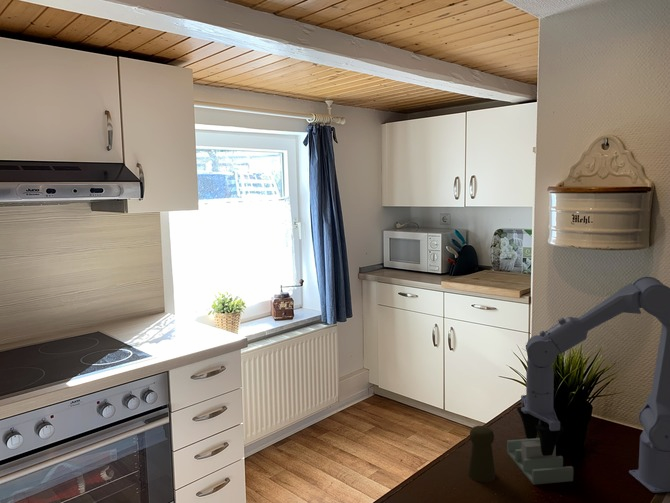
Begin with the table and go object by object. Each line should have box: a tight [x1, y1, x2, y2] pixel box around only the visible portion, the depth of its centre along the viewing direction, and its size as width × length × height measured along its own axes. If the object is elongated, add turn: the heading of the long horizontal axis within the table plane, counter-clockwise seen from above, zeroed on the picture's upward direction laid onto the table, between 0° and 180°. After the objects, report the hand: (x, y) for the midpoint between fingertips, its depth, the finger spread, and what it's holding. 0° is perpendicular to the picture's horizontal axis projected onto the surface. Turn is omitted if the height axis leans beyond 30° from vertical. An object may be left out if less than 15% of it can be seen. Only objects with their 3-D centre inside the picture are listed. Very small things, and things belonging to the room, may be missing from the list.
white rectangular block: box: [521, 440, 557, 464], centre depth 119 cm, size 7×2×5 cm, turn 95°
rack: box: [506, 437, 574, 485], centre depth 119 cm, size 9×14×3 cm, turn 5°
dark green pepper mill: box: [467, 425, 496, 483], centre depth 116 cm, size 6×6×11 cm
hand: (538, 446), depth 119 cm, fingers open, 7 cm apart
